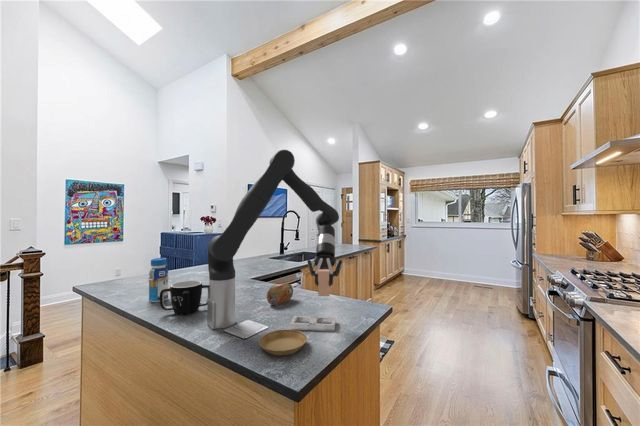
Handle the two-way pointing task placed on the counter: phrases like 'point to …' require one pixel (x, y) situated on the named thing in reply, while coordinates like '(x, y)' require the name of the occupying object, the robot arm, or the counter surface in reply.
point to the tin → (279, 294)
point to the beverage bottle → (158, 279)
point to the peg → (323, 282)
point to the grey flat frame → (312, 323)
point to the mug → (184, 297)
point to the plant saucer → (283, 342)
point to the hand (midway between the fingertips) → (323, 284)
